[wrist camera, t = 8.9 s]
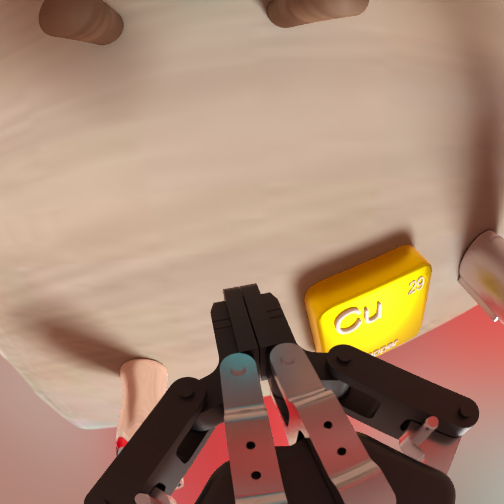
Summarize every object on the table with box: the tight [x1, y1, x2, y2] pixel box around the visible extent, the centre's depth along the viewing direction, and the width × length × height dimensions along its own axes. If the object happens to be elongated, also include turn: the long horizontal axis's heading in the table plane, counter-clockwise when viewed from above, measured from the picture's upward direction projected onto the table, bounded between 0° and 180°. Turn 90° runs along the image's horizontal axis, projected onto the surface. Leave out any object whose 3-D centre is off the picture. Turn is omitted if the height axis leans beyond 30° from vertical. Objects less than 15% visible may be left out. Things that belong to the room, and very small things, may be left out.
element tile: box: [304, 245, 432, 357], centre depth 36 cm, size 15×15×5 cm
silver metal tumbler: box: [116, 359, 184, 490], centre depth 29 cm, size 7×7×15 cm
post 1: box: [39, 0, 124, 45], centre depth 12 cm, size 3×3×9 cm
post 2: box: [267, 0, 369, 28], centre depth 14 cm, size 3×3×9 cm
